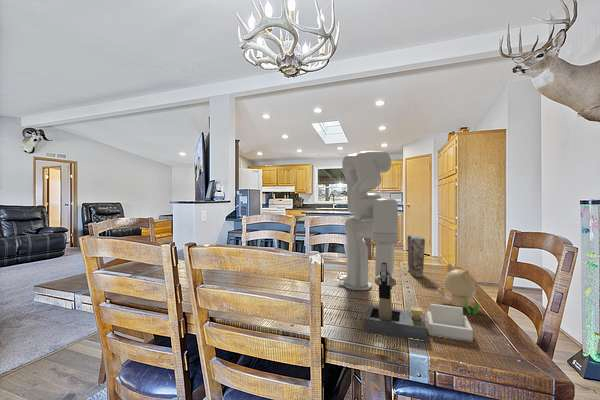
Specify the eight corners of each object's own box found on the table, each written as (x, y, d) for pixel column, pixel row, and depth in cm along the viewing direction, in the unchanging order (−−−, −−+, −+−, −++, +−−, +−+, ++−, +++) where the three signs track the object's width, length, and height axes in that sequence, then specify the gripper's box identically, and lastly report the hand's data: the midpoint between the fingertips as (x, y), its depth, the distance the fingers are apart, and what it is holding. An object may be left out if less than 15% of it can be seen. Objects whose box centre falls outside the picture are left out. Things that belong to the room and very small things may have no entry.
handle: (397, 331, 84) (396, 282, 84) (375, 329, 85) (374, 281, 85) (395, 324, 88) (395, 277, 88) (374, 322, 90) (374, 276, 90)
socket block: (364, 331, 84) (364, 318, 84) (368, 317, 94) (368, 305, 94) (426, 342, 78) (426, 328, 78) (424, 325, 88) (424, 313, 87)
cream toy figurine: (489, 314, 96) (489, 271, 96) (464, 316, 95) (464, 272, 95) (458, 298, 111) (458, 261, 111) (436, 300, 109) (436, 262, 109)
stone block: (426, 277, 140) (426, 238, 139) (412, 277, 140) (412, 238, 140) (417, 270, 153) (417, 234, 153) (404, 270, 153) (404, 234, 153)
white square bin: (429, 335, 81) (429, 315, 81) (427, 321, 91) (427, 303, 91) (472, 342, 77) (472, 321, 77) (465, 327, 87) (465, 307, 87)
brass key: (411, 333, 83) (411, 309, 83) (411, 328, 86) (411, 306, 85) (422, 334, 82) (422, 311, 82) (421, 330, 84) (421, 307, 84)
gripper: (375, 235, 96) (376, 284, 96) (369, 241, 80) (369, 301, 79) (398, 235, 93) (399, 286, 93) (396, 242, 77) (397, 304, 77)
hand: (385, 293), depth 86 cm, fingers open, 9 cm apart
